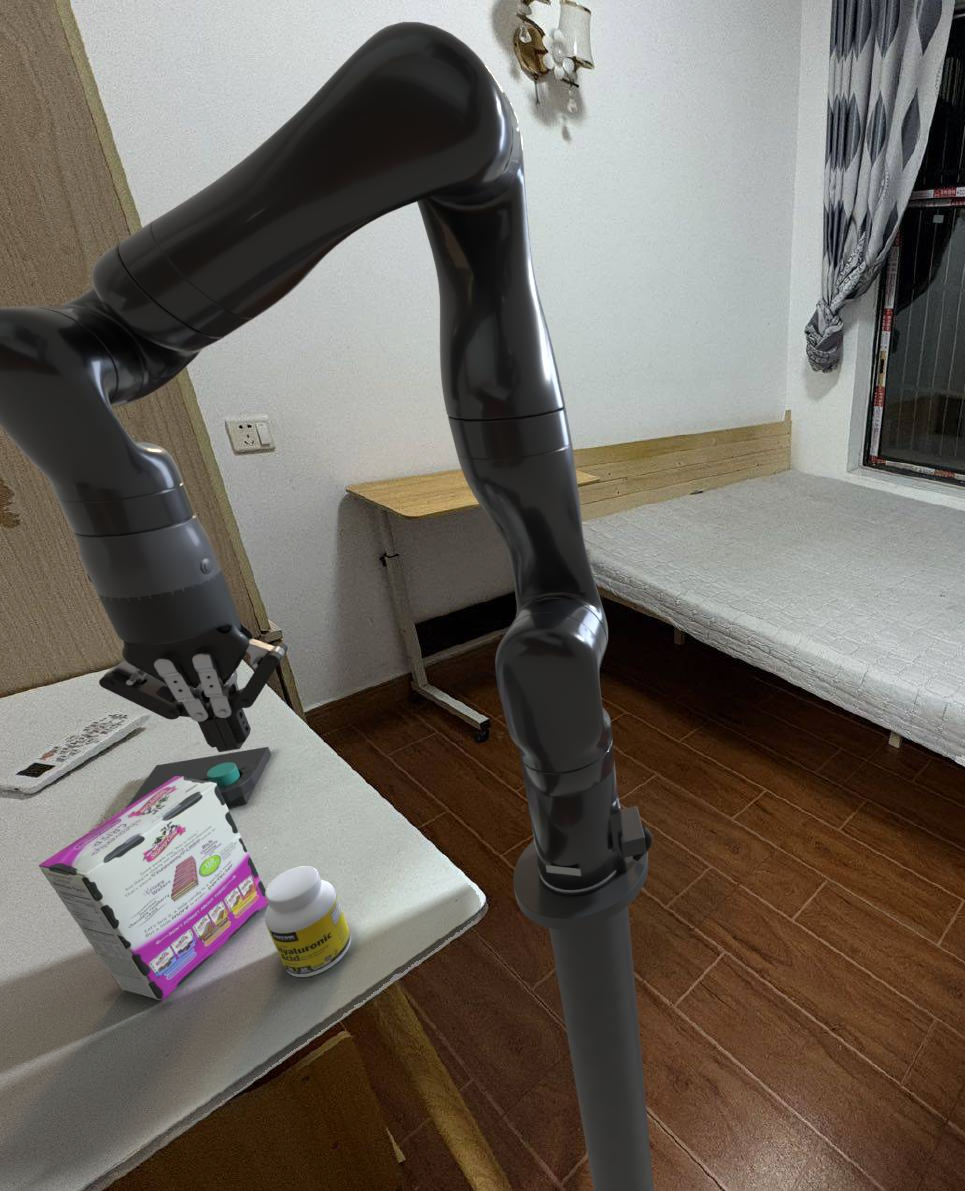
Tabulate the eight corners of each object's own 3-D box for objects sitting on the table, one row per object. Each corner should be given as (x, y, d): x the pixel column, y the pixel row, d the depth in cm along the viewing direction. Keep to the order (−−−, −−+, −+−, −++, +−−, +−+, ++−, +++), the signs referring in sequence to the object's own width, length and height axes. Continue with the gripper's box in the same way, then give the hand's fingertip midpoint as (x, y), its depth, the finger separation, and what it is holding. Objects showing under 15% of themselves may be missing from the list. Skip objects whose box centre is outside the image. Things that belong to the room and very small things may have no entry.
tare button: (243, 771, 82) (239, 760, 81) (235, 785, 79) (231, 774, 79) (216, 775, 81) (211, 764, 80) (207, 790, 78) (202, 779, 78)
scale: (279, 753, 89) (272, 735, 88) (253, 807, 80) (245, 788, 79) (160, 773, 84) (151, 755, 83) (118, 832, 75) (108, 813, 74)
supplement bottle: (278, 987, 60) (245, 915, 56) (294, 938, 64) (264, 867, 60) (346, 968, 62) (319, 897, 58) (357, 921, 66) (332, 852, 62)
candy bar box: (232, 892, 69) (176, 772, 62) (273, 901, 68) (221, 780, 61) (115, 993, 59) (32, 863, 52) (161, 1004, 58) (84, 874, 51)
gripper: (272, 550, 58) (327, 709, 65) (80, 566, 53) (162, 736, 61) (242, 582, 51) (306, 755, 59) (21, 604, 47) (120, 788, 54)
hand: (233, 745), depth 60 cm, fingers closed
